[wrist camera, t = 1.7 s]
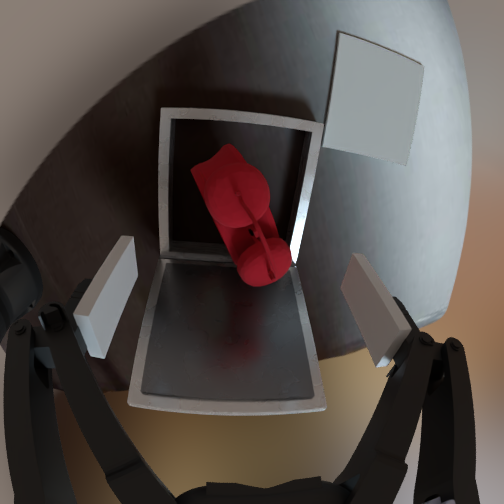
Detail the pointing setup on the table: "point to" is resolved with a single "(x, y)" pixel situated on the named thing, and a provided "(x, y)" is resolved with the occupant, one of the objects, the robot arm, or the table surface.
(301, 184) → the case
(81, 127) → the table surface
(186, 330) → the lid
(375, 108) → the mat
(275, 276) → the alarm clock
